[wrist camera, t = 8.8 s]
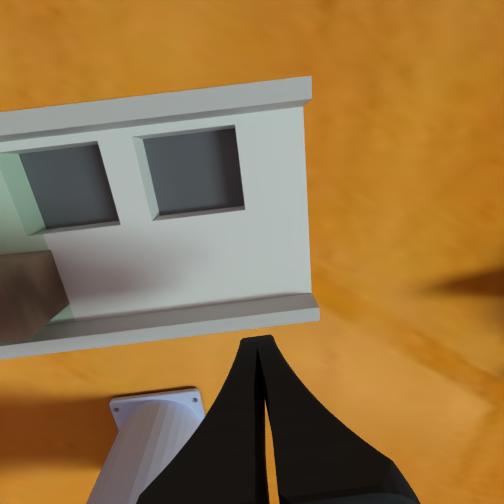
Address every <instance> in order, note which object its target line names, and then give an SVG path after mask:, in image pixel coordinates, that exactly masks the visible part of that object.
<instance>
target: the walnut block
mask: <svg viewBox="0 0 504 504" xmlns="http://www.w3.org/2000/svg"><path fill="white" fill-rule="evenodd" d="M69 304H70V303H69V300H68V297H67V294H66V292H65V289H64V286H63V283H62V280H61V277H60V275H59V272H58V269H57V266H56V263H55V260H54V257H53V255H52V252H51V250H45V251H34V252H24V253H14V254H3V255H0V343H4V342H14V341H24V340H27V339H28V338H30V337H31V336H32V335H33V334H34V333H36V332H37V331H38V330H39V329H40V328H42V327H43V326H44V325H45V324H46V323H48V322H49V321H50V320H51V319H52V318H54V317H55V316H56V315H57V314H58V313H60V312H61V311H62V310H63V309H64V308H66V307H67V306H68V305H69Z"/></svg>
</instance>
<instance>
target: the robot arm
mask: <svg viewBox="0 0 504 504" xmlns="http://www.w3.org/2000/svg"><path fill="white" fill-rule="evenodd" d="M194 398H197V399H194ZM265 402H266V407H267V411H268V416H269V421H270V426H271V431H272V438H273V447H274V457H275V466H276V476H277V486H278V495H279V502H280V504H420V502H419V500H418V498H417V496H416V495H415V493H414V491H413V490H412V488H411V487H410V485H409V484H408V482H407V481H406V479H405V478H404V476H403V475H402V473H401V472H400V470H399V469H398V468H397V466H396V465H395V464H394V462H393V461H392V460H390V459H389V458H388V457H386V456H385V455H383V454H382V453H380V452H379V451H377V450H376V449H375V448H373V447H372V446H371V445H369V444H368V443H366V442H365V441H364V440H363V439H361V438H360V437H359V436H357V435H356V434H355V433H354V432H352V431H351V430H350V429H349V428H347V427H346V426H345V425H344V424H343V423H342V422H341V421H340V420H338V419H337V418H336V417H335V416H334V415H333V414H332V413H330V412H329V411H328V410H327V409H326V408H325V407H324V406H323V405H322V404H321V403H320V402H319V401H318V400H317V399H316V398H315V397H314V396H313V394H312V393H311V392H310V391H309V390H308V389H307V388H306V387H305V385H304V384H303V383H302V382H301V381H300V379H299V378H298V377H297V376H296V374H295V373H294V372H293V370H292V369H291V367H290V366H289V364H288V363H287V362H286V360H285V359H284V357H283V355H282V354H281V352H280V350H279V349H278V347H277V345H276V343H275V340H274V338H273V336H272V335H264V336H256V337H249V338H243V339H242V340H241V341H240V345H239V349H238V352H237V355H236V358H235V360H234V363H233V365H232V368H231V370H230V372H229V375H228V377H227V379H226V381H225V383H224V385H223V387H222V389H221V391H220V393H219V394H218V396H217V398H216V400H215V401H214V403H213V405H212V406H211V408H210V410H209V411H208V413H207V414H206V416H205V412H204V408H203V404H202V399H201V395H200V391H199V390H198V389H196V388H192V389H184V390H175V391H167V392H159V393H151V394H143V395H135V396H127V397H119V398H113V399H112V400H111V401H110V403H109V407H110V409H111V412H112V414H113V417H114V420H115V422H116V425H117V428H118V430H119V432H118V434H117V436H116V438H115V441H114V443H113V445H112V447H111V449H110V452H109V454H108V456H107V458H106V461H105V463H104V465H103V467H102V469H101V472H100V474H99V476H98V478H97V481H96V483H95V485H94V487H93V489H92V492H91V494H90V496H89V498H88V501H87V503H86V504H270V503H269V492H268V481H267V471H266V454H265Z"/></svg>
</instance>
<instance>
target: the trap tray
mask: <svg viewBox="0 0 504 504" xmlns="http://www.w3.org/2000/svg"><path fill="white" fill-rule="evenodd" d="M311 99H312V86H311V76H305V77H297V78H288V79H280V80H271V81H263V82H254V83H246V84H237V85H229V86H220V87H212V88H203V89H195V90H186V91H178V92H169V93H161V94H153V95H144V96H136V97H127V98H119V99H110V100H102V101H93V102H85V103H76V104H68V105H59V106H51V107H42V108H34V109H25V110H17V111H8V112H0V255H3V254H14V253H24V252H34V251H45V250H51V252H52V255H53V257H54V260H55V263H56V266H57V269H58V272H59V275H60V277H61V280H62V283H63V286H64V289H65V292H66V294H67V297H68V300H69V303H70V304H69V305H68V306H67V307H66V308H64V309H63V310H62V311H61V312H60V313H58V314H57V315H56V316H55V317H54V318H52V319H51V320H50V321H49V322H48V323H46V324H45V325H44V326H43V327H42V328H40V329H39V330H38V331H37V332H36V333H34V334H33V335H32V336H31V337H30V338H28V339H27V340H24V341H14V342H4V343H0V360H1V359H9V358H17V357H25V356H34V355H42V354H50V353H58V352H66V351H75V350H83V349H91V348H99V347H107V346H116V345H124V344H132V343H140V342H148V341H156V340H165V339H173V338H181V337H189V336H197V335H206V334H214V333H222V332H230V331H238V330H246V329H255V328H263V327H271V326H279V325H287V324H296V323H304V322H312V321H320V313H319V306H318V304H317V302H316V300H315V299H314V297H313V295H312V293H311V272H310V250H309V228H308V206H307V184H306V161H305V139H304V117H303V106H304V105H305V104H307V103H308V102H309V101H310V100H311Z"/></svg>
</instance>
